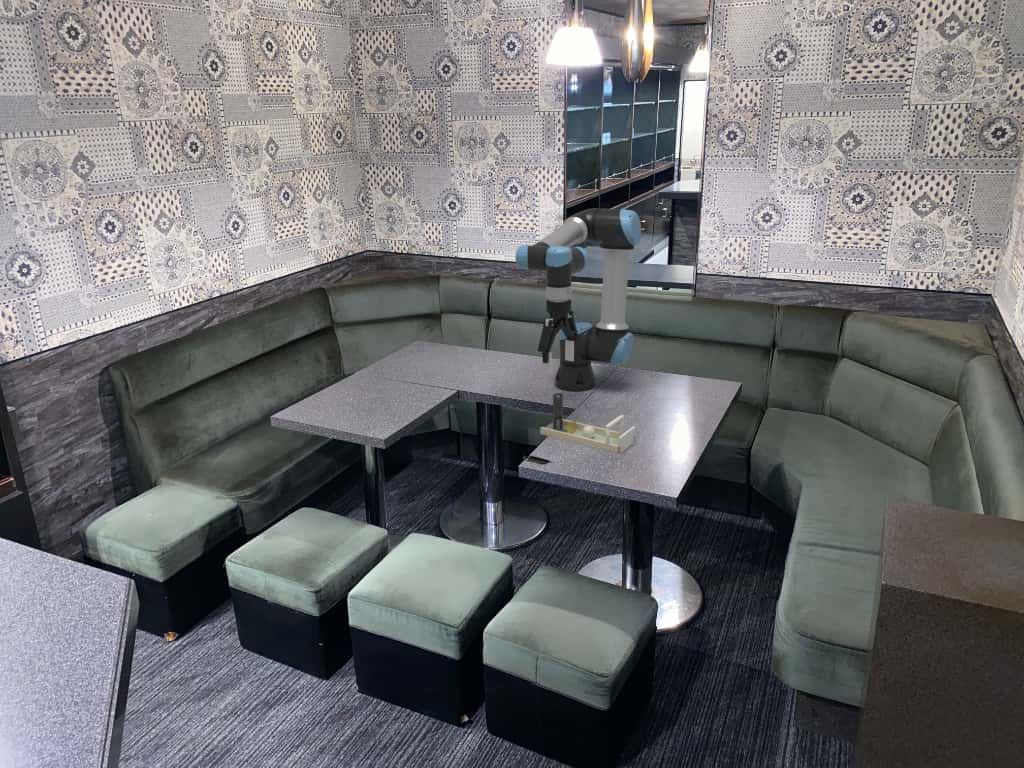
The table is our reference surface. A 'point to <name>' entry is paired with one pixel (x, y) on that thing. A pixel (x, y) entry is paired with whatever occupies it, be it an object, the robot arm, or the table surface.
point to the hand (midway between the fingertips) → (558, 366)
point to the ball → (588, 431)
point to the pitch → (597, 436)
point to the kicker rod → (560, 416)
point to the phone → (535, 459)
